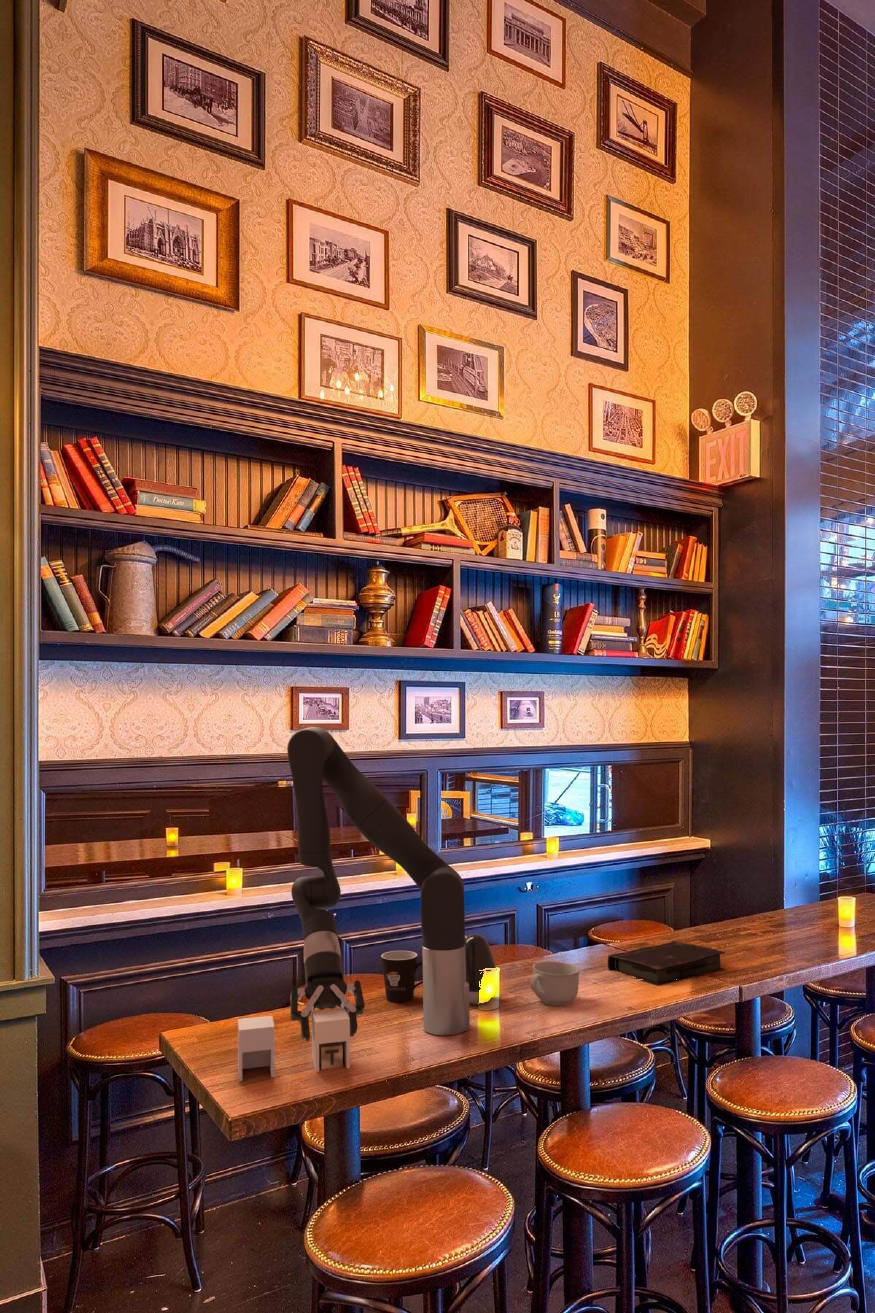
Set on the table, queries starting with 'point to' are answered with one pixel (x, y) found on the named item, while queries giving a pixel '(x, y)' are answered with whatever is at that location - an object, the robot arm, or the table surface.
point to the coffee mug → (400, 975)
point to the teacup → (555, 982)
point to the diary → (667, 962)
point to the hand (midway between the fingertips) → (330, 1037)
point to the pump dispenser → (476, 963)
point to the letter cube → (331, 1055)
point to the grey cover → (256, 1044)
